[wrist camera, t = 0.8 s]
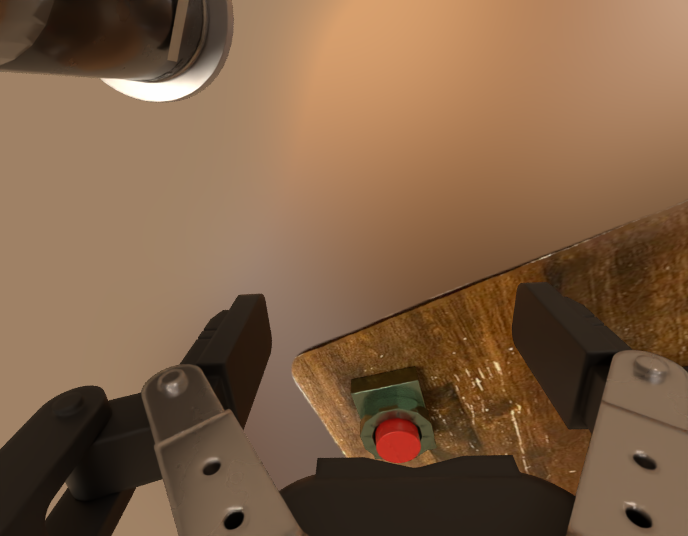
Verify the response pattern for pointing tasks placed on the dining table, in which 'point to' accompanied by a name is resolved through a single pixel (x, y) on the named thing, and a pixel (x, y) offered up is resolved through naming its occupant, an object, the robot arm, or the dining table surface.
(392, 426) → the button
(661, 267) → the dining table surface
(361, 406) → the button base
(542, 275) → the dining table surface
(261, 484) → the robot arm
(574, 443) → the dining table surface
